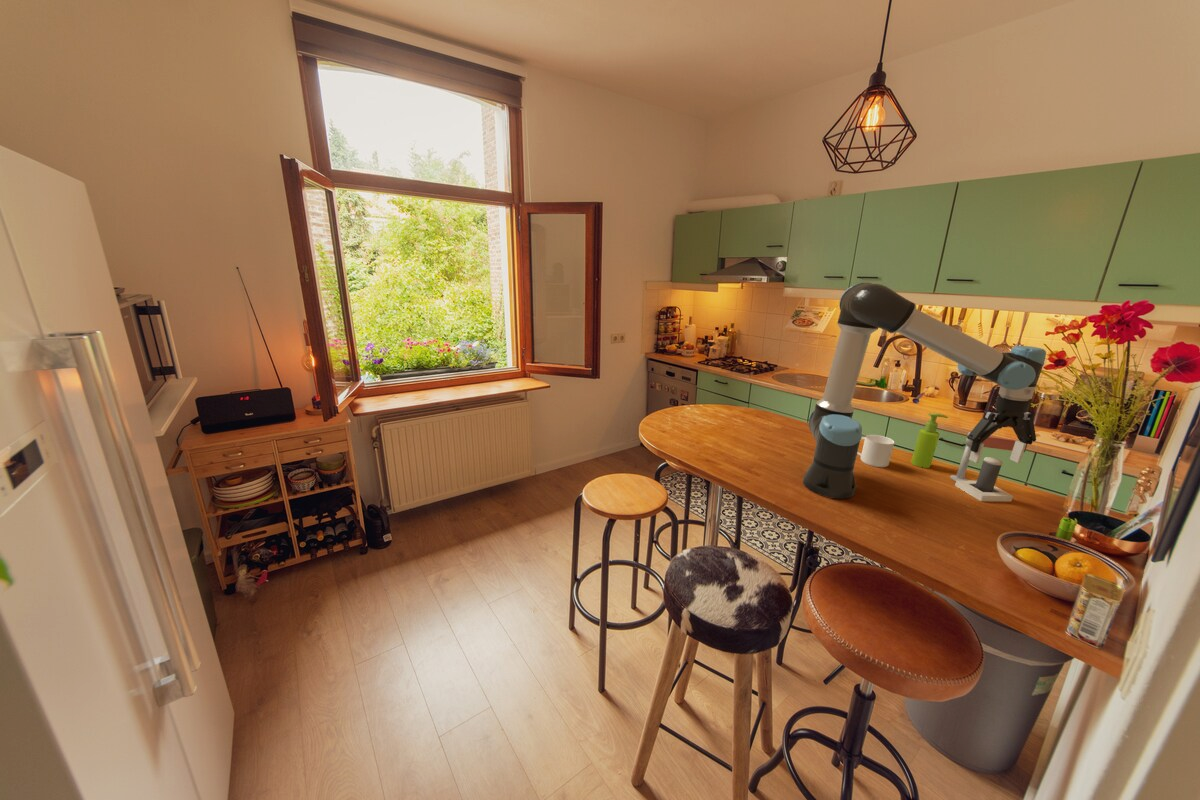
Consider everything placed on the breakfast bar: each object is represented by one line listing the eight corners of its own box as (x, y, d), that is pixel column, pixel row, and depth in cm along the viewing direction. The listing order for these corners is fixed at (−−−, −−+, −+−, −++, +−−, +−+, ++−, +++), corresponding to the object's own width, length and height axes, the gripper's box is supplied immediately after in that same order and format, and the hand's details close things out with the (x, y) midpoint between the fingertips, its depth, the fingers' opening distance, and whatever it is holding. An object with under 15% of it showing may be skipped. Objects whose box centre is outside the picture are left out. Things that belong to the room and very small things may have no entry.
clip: (1018, 452, 139) (1022, 441, 138) (967, 445, 144) (970, 434, 143) (1014, 449, 142) (1017, 437, 141) (963, 442, 146) (966, 431, 145)
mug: (893, 464, 159) (899, 441, 157) (880, 469, 155) (886, 445, 152) (860, 452, 169) (865, 430, 166) (847, 457, 165) (852, 434, 162)
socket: (980, 501, 135) (993, 463, 131) (941, 477, 150) (951, 443, 146) (1011, 501, 136) (1024, 464, 132) (968, 477, 151) (979, 443, 147)
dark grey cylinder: (981, 496, 138) (992, 462, 134) (969, 490, 142) (980, 457, 138) (994, 496, 138) (1006, 463, 134) (982, 490, 142) (993, 457, 139)
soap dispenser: (936, 469, 157) (951, 417, 151) (915, 467, 158) (929, 415, 152) (928, 462, 162) (942, 412, 156) (908, 460, 163) (921, 410, 157)
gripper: (985, 401, 126) (966, 466, 132) (1066, 401, 127) (1043, 466, 133) (964, 393, 133) (946, 456, 140) (1041, 394, 134) (1020, 456, 141)
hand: (994, 461), depth 137 cm, fingers open, 13 cm apart
